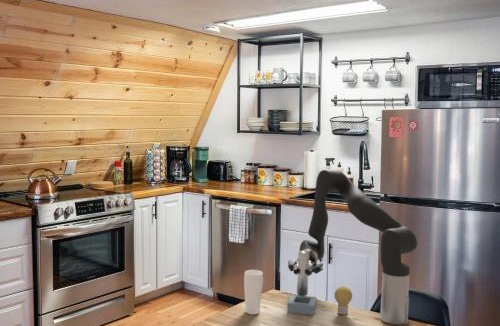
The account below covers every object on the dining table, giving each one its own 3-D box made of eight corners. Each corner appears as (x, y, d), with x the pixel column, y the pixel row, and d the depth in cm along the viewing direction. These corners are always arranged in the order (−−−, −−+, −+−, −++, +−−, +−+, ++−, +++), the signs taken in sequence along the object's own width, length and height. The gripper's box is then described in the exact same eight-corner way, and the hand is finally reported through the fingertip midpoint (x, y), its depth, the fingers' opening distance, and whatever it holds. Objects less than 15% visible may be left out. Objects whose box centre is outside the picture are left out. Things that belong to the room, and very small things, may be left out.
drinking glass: (241, 314, 187) (242, 274, 186) (245, 308, 194) (246, 268, 193) (259, 316, 186) (260, 275, 185) (263, 310, 193) (264, 270, 191)
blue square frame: (316, 306, 198) (316, 297, 198) (313, 315, 189) (313, 305, 188) (291, 303, 200) (291, 294, 200) (287, 312, 191) (287, 303, 191)
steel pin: (308, 292, 196) (309, 251, 194) (306, 296, 192) (308, 253, 190) (297, 291, 197) (299, 250, 195) (296, 295, 193) (297, 252, 191)
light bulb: (350, 310, 194) (351, 284, 193) (352, 317, 188) (353, 290, 187) (333, 309, 195) (334, 283, 194) (334, 316, 188) (335, 289, 187)
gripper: (290, 249, 208) (283, 260, 192) (325, 252, 205) (322, 264, 189) (289, 267, 209) (282, 280, 192) (325, 270, 206) (321, 284, 189)
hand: (302, 272), depth 191 cm, fingers closed on steel pin, 4 cm apart
